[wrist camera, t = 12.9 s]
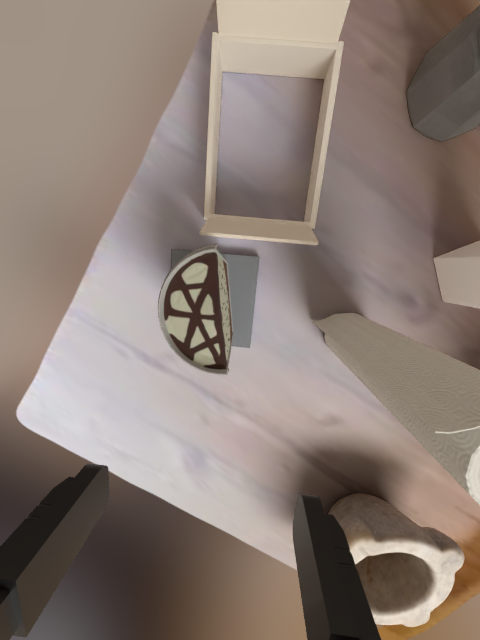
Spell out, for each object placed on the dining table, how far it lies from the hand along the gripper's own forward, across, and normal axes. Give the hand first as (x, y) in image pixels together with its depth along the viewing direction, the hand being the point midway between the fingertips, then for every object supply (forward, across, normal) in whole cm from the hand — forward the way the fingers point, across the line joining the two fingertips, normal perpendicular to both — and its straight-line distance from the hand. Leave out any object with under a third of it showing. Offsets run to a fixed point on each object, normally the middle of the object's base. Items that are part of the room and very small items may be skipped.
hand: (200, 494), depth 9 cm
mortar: (+24, -23, +30) cm, 45 cm away
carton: (+23, -1, -22) cm, 32 cm away
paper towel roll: (+23, -14, -2) cm, 28 cm away
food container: (+22, +4, -4) cm, 23 cm away
